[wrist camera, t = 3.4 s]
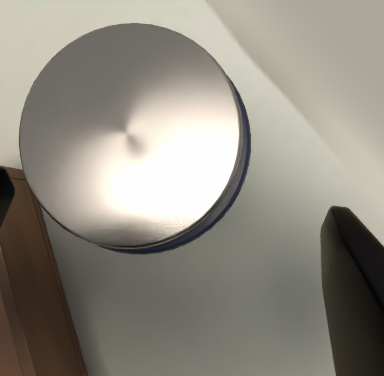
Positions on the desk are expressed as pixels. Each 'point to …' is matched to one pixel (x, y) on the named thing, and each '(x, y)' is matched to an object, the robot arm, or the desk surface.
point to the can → (135, 139)
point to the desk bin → (32, 295)
